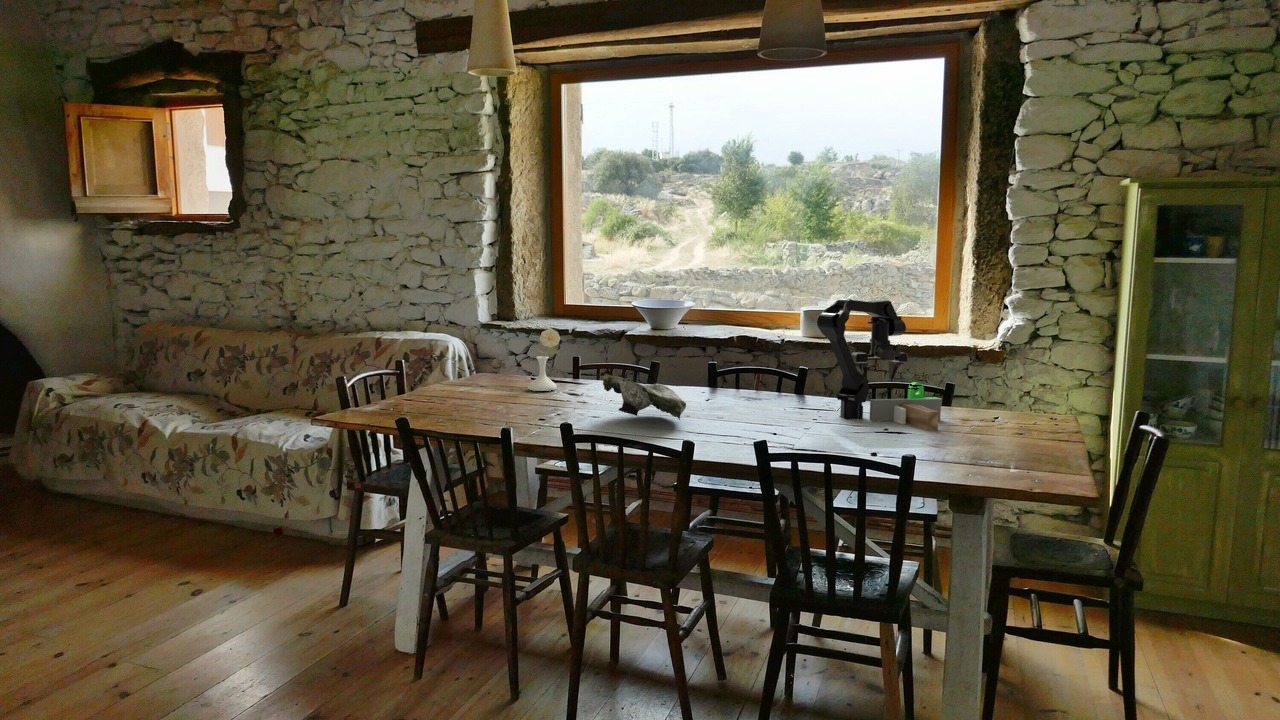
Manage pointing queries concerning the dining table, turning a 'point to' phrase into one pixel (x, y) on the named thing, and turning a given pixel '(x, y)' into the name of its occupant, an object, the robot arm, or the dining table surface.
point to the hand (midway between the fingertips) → (878, 382)
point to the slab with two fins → (899, 408)
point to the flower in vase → (542, 381)
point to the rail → (921, 417)
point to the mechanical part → (919, 392)
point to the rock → (644, 396)
